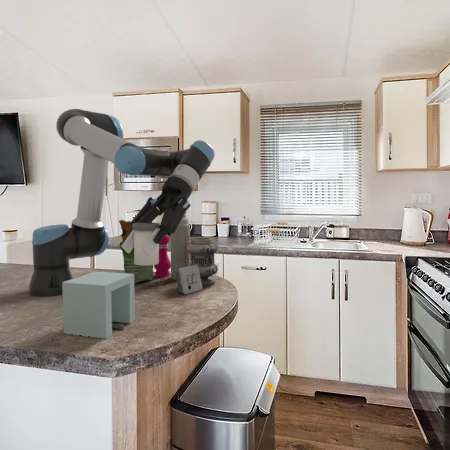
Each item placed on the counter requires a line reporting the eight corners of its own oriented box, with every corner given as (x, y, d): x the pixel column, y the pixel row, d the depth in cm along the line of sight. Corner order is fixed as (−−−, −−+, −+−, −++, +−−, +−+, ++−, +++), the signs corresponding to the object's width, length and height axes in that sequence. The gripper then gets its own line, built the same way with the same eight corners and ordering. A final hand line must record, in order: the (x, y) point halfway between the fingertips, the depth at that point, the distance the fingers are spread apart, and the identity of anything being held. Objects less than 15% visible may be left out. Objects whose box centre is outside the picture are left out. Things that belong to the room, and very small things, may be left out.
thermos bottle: (193, 277, 161) (193, 210, 159) (182, 280, 154) (181, 211, 152) (179, 275, 165) (178, 210, 163) (166, 278, 158) (166, 210, 156)
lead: (65, 323, 103) (65, 319, 102) (68, 322, 104) (67, 318, 103) (122, 329, 98) (122, 325, 98) (124, 328, 99) (124, 324, 99)
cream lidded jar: (128, 264, 93) (127, 224, 92) (140, 260, 100) (140, 222, 99) (152, 266, 92) (152, 224, 91) (164, 261, 98) (164, 222, 97)
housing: (63, 333, 95) (62, 282, 94) (96, 316, 109) (95, 271, 108) (106, 338, 92) (105, 285, 91) (134, 320, 106) (134, 273, 104)
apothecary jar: (193, 279, 157) (193, 235, 156) (221, 281, 154) (221, 236, 152) (182, 285, 146) (182, 239, 144) (212, 288, 142) (212, 240, 141)
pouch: (157, 282, 151) (156, 219, 149) (128, 286, 145) (127, 220, 143) (145, 277, 161) (145, 217, 159) (118, 280, 154) (117, 218, 152)
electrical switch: (185, 295, 132) (183, 268, 132) (174, 294, 136) (172, 268, 135) (203, 290, 140) (201, 264, 139) (192, 289, 143) (191, 264, 143)
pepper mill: (154, 274, 167) (154, 228, 166) (171, 273, 168) (171, 228, 166) (153, 277, 160) (152, 230, 158) (170, 277, 161) (170, 229, 159)
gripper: (147, 175, 108) (100, 238, 96) (202, 174, 96) (156, 244, 84) (161, 194, 112) (117, 256, 100) (214, 195, 101) (172, 265, 89)
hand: (135, 251), depth 92 cm, fingers closed on cream lidded jar, 6 cm apart
